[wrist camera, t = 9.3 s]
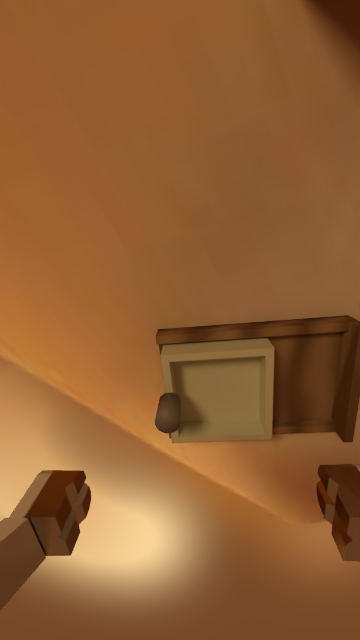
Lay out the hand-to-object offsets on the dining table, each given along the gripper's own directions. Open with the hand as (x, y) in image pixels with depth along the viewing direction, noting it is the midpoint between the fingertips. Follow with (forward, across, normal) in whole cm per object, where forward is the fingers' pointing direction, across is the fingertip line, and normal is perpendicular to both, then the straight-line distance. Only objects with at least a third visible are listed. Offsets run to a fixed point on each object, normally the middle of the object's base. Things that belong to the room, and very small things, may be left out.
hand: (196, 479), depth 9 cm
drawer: (+26, -1, +13) cm, 29 cm away
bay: (+27, -7, +13) cm, 31 cm away
